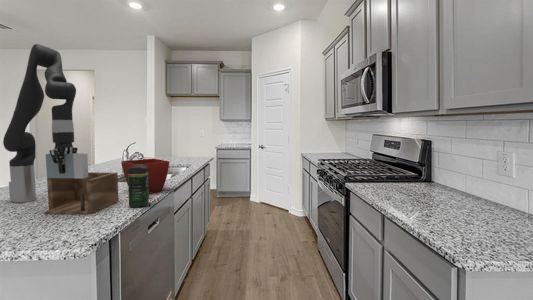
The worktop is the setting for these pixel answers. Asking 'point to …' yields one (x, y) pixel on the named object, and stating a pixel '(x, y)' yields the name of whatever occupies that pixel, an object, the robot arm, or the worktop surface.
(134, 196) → the coffee jar
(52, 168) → the grey rectangular block
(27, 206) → the worktop surface
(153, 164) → the plant pot
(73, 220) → the worktop surface
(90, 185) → the open wooden box
